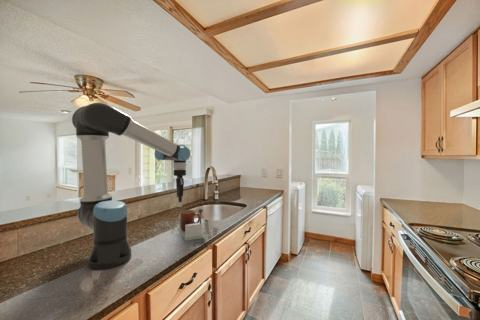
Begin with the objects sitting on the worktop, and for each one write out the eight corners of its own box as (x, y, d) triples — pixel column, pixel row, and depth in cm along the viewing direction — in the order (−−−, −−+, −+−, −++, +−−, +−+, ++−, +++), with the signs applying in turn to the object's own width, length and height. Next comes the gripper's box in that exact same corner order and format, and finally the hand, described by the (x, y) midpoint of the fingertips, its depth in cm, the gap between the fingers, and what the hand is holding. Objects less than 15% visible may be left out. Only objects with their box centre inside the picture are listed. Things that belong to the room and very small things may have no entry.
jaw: (179, 225, 121) (179, 216, 121) (177, 221, 128) (177, 213, 128) (192, 223, 124) (192, 214, 124) (189, 220, 131) (189, 211, 131)
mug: (176, 231, 112) (176, 213, 111) (183, 226, 120) (184, 209, 120) (196, 233, 109) (196, 214, 109) (202, 228, 118) (203, 210, 118)
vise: (185, 240, 103) (185, 211, 103) (177, 227, 123) (177, 202, 122) (203, 237, 107) (203, 209, 107) (192, 225, 127) (193, 201, 127)
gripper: (188, 169, 123) (188, 208, 123) (183, 168, 134) (183, 203, 135) (175, 170, 119) (175, 209, 120) (171, 168, 131) (171, 204, 131)
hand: (179, 206), depth 127 cm, fingers closed
